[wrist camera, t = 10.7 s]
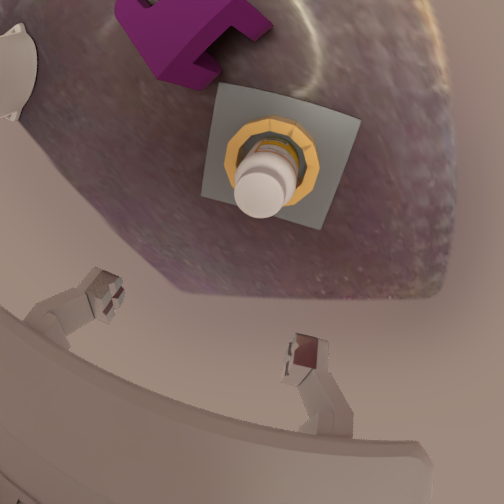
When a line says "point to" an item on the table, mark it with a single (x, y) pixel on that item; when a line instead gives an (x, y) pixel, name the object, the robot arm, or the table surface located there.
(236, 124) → the plate
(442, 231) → the table surface
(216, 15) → the mounting bracket
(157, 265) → the table surface
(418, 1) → the table surface
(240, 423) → the robot arm
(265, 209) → the supplement bottle
